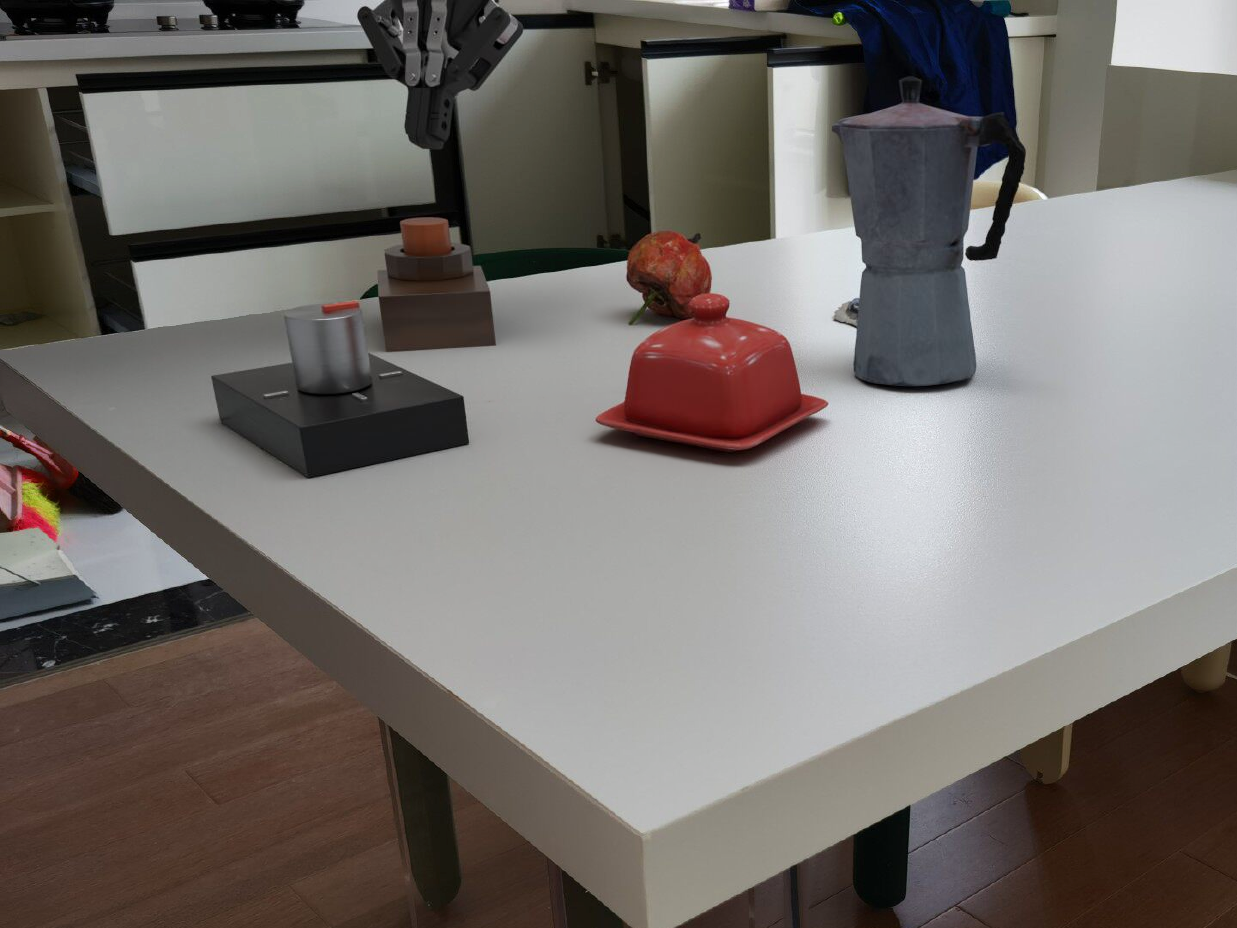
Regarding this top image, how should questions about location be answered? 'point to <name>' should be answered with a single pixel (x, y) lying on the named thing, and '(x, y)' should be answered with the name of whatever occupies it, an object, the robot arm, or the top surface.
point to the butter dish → (712, 383)
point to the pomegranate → (668, 273)
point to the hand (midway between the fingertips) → (425, 145)
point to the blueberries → (848, 312)
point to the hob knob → (328, 348)
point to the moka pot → (919, 234)
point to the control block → (434, 301)
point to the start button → (425, 235)
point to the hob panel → (341, 417)
